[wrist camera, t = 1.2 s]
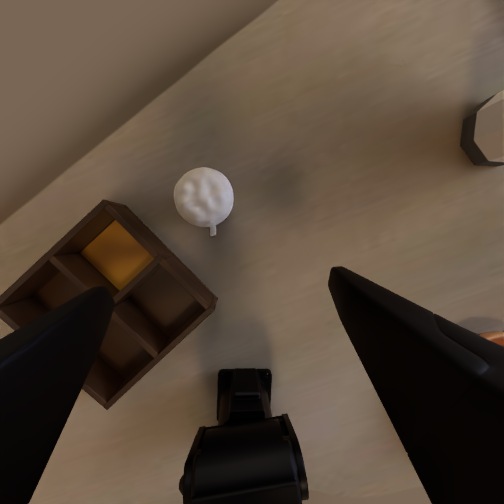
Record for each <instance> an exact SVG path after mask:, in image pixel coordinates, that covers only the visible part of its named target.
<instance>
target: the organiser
mask: <svg viewBox="0 0 504 504" xmlns="http://www.w3.org/2000/svg"><path fill="white" fill-rule="evenodd" d="M94 286H107V287H108V289H109V291H110V293H111V295H112V297H113V299H114V301H115V307H114V310H113V313H112V316H111V319H110V322H109V325H108V328H107V331H106V334H105V337H104V340H103V342H102V345H101V347H100V350H99V352H98V354H97V356H96V358H95V360H94V363H93V365H92V367H91V369H90V371H89V373H88V376H87V378H86V380H85V382H84V384H83V387H82V389H83V390H84V391H85V392H87V393H88V394H89V395H90V396H91V397H92V398H94V399H95V400H96V401H97V402H98V403H99V404H101V405H102V406H103V407H104V408H105V409H106V410H108V409H109V408H110V407H111V406H112V405H113V404H114V403H115V402H116V401H117V400H118V399H119V398H121V397H122V396H123V395H124V394H125V393H126V392H127V391H128V390H129V389H130V388H131V387H132V386H133V385H134V384H136V383H137V382H138V381H139V380H140V379H141V378H142V377H143V376H144V375H145V374H146V373H147V372H148V371H149V370H151V369H152V368H153V367H154V366H155V365H156V364H157V363H158V362H159V361H160V360H161V359H162V358H163V357H164V356H166V355H167V354H168V353H169V352H170V351H171V350H172V349H173V348H174V347H175V346H176V345H177V344H178V343H180V342H181V341H182V340H183V339H184V338H185V337H186V336H187V335H188V334H189V333H190V332H191V331H192V330H193V329H195V328H196V327H197V326H198V325H199V324H200V323H201V322H202V321H203V320H204V319H205V318H206V317H207V316H208V315H210V314H211V313H212V312H213V311H214V309H215V306H216V302H217V299H218V298H217V297H216V296H215V295H214V294H213V293H212V292H211V291H210V290H209V289H208V288H207V287H206V286H205V285H204V284H203V283H202V282H201V281H200V280H199V279H198V278H197V277H196V276H195V275H194V274H193V273H192V272H191V271H190V270H189V269H188V268H187V267H186V266H185V265H184V264H183V263H182V262H181V261H180V260H179V259H178V258H177V257H176V256H175V254H174V253H173V252H172V251H171V250H170V249H169V248H168V247H167V246H166V245H165V244H164V243H163V242H162V241H161V240H160V239H159V238H158V237H157V236H156V235H155V234H154V233H153V232H152V231H151V230H150V229H149V228H148V227H147V226H146V225H145V224H144V223H143V222H142V221H141V220H140V219H139V218H138V217H137V216H136V215H135V214H134V213H133V212H132V211H131V210H130V209H129V208H128V207H127V206H126V205H123V204H119V203H115V202H111V201H108V200H102V201H101V202H100V203H99V204H98V205H97V206H96V207H95V208H94V209H93V210H92V211H91V212H90V213H88V214H87V215H86V216H85V217H84V218H83V219H82V220H81V221H80V222H79V223H78V224H77V225H76V226H75V227H73V228H72V229H71V230H70V231H69V232H68V233H67V234H66V235H65V236H64V237H63V238H62V239H61V240H60V241H59V242H57V243H56V244H55V245H54V246H53V247H52V248H51V249H50V250H49V251H48V252H47V253H46V254H45V255H44V256H42V257H41V258H40V259H39V260H38V261H37V262H36V263H35V264H34V265H33V266H32V267H31V268H30V269H29V270H28V271H26V272H25V273H24V274H23V275H22V276H21V277H20V278H19V279H18V280H17V281H16V282H15V283H14V284H13V285H11V286H10V287H9V288H8V289H7V290H6V291H5V292H4V293H3V294H2V295H1V296H0V318H1V319H2V320H3V321H4V322H5V323H7V324H8V325H9V326H10V327H11V328H12V329H14V330H15V331H16V330H17V329H19V328H21V327H23V326H24V325H26V324H28V323H30V322H32V321H33V320H35V319H37V318H39V317H40V316H42V315H44V314H46V313H47V312H49V311H51V310H53V309H55V308H56V307H58V306H60V305H62V304H63V303H65V302H67V301H69V300H70V299H72V298H74V297H76V296H78V295H79V294H81V293H83V292H85V291H86V290H88V289H90V288H92V287H94Z"/></svg>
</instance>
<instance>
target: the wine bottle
mask: <svg viewBox="0 0 504 504" xmlns="http://www.w3.org/2000/svg"><path fill="white" fill-rule="evenodd" d="M460 146H461V147H462V148H463V150H464V151H465V152H466V154H467V155H468V157H469V158H470V159H471V161H472V162H473V164H474V165H487V166H501V165H504V90H503V91H501V92H499V93H497V94H496V95H494V96H492V97H490V98H489V99H487V100H486V101H484V102H483V103H481V104H480V105H479V106H478V107H477V108H476V109H475V110H474V111H473V112H472V113H470V114H469V115H468V116H467V117H466V118H465V119H464V120H463V128H462V137H461V145H460Z"/></svg>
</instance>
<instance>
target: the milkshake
mask: <svg viewBox="0 0 504 504" xmlns="http://www.w3.org/2000/svg"><path fill="white" fill-rule="evenodd" d="M174 202H175V205H176V209H177V211H178V213H179V214H180V215H181V217H182V218H184V219H185V220H186V221H187V222H189V223H190V224H192V225H194V226H197V227H210V237H212V236H216V225H217V224H219V223H221V222H223V221H224V220H225V219H227V217H228V215H229V214H230V212H231V210H232V207H233V203H234V194H233V190H232V186H231V184H230V182H229V181H228V179H227V178H226V177H225V176H224V175H223V174H222V173H221V172H219V171H216V170H214V169H211V168H207V167H200V168H195V169H192V170H190V171H188V172H187V173H185V174H184V175H183V176H182V177H181V178H180V179H179V181H178V182H177V184H176V186H175V189H174Z"/></svg>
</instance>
